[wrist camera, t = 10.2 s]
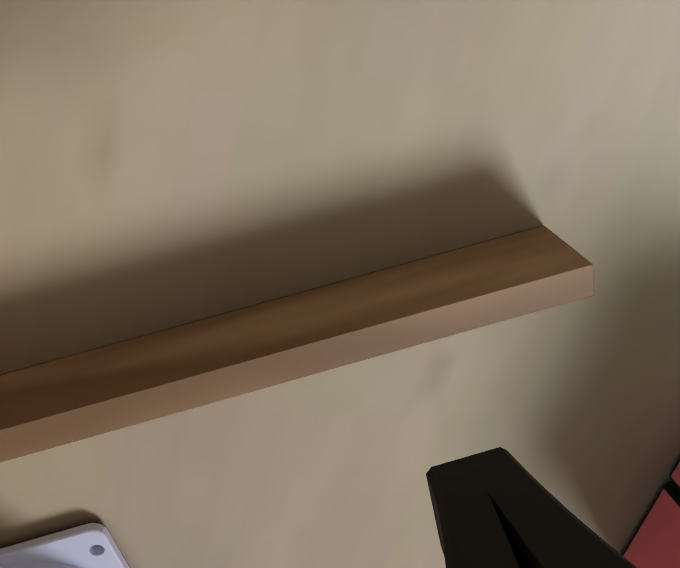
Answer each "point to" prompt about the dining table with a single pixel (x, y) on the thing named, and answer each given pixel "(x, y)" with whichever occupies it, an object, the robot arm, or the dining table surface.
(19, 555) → the robot arm
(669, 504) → the puzzle cube
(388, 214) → the dining table surface
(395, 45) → the dining table surface
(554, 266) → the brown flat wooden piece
